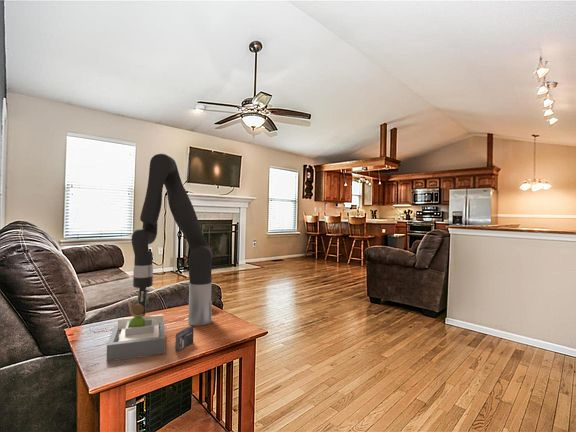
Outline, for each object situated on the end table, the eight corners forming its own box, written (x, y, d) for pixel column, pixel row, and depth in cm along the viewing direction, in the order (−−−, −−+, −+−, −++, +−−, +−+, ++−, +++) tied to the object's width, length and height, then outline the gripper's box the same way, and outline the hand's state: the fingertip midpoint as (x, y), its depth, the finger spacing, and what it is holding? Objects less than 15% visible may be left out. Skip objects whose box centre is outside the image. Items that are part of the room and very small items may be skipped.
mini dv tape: (179, 352, 104) (179, 334, 104) (175, 351, 105) (175, 334, 105) (193, 343, 112) (193, 326, 112) (189, 342, 113) (190, 326, 113)
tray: (162, 323, 130) (163, 314, 130) (163, 339, 114) (163, 328, 114) (118, 328, 123) (118, 318, 123) (112, 345, 107) (112, 334, 107)
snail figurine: (131, 327, 121) (132, 297, 121) (147, 328, 121) (148, 298, 121) (123, 332, 116) (124, 301, 116) (140, 333, 116) (140, 301, 116)
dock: (163, 333, 120) (164, 321, 120) (164, 353, 103) (165, 338, 103) (114, 339, 113) (114, 326, 113) (106, 361, 97) (106, 345, 97)
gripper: (152, 277, 126) (151, 320, 126) (153, 272, 139) (152, 310, 139) (132, 278, 124) (130, 321, 124) (134, 272, 136) (133, 312, 136)
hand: (142, 315), depth 131 cm, fingers closed
